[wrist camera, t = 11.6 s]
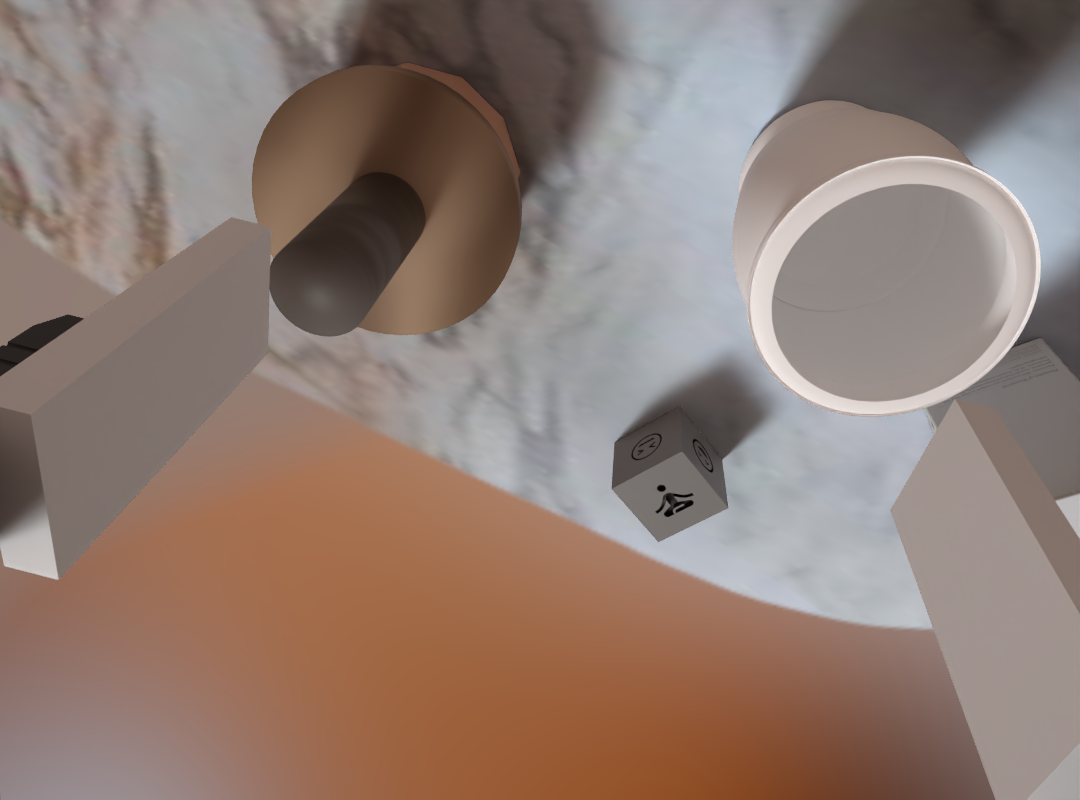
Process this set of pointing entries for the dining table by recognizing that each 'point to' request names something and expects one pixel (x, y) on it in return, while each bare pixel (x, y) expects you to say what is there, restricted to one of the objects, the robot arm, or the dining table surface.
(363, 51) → the dining table surface
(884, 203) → the jar
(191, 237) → the dining table surface
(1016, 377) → the supplement box
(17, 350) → the robot arm
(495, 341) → the dining table surface
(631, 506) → the dice cube
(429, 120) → the lid
